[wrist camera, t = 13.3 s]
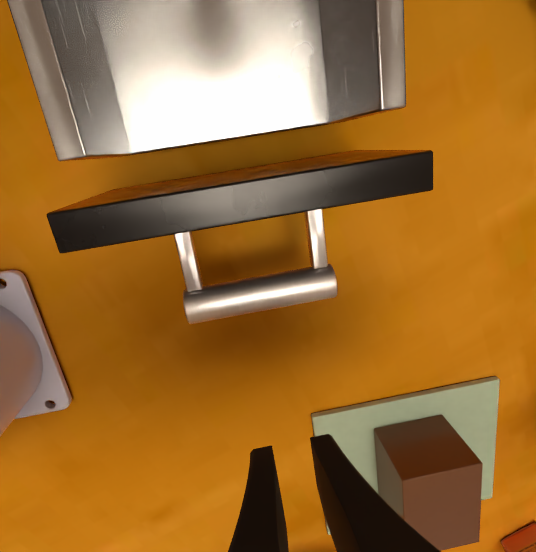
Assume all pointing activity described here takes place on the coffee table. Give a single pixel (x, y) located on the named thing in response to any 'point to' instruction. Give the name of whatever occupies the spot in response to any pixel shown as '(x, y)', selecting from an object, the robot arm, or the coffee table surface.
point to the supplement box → (521, 540)
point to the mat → (445, 400)
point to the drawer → (219, 120)
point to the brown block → (430, 480)
